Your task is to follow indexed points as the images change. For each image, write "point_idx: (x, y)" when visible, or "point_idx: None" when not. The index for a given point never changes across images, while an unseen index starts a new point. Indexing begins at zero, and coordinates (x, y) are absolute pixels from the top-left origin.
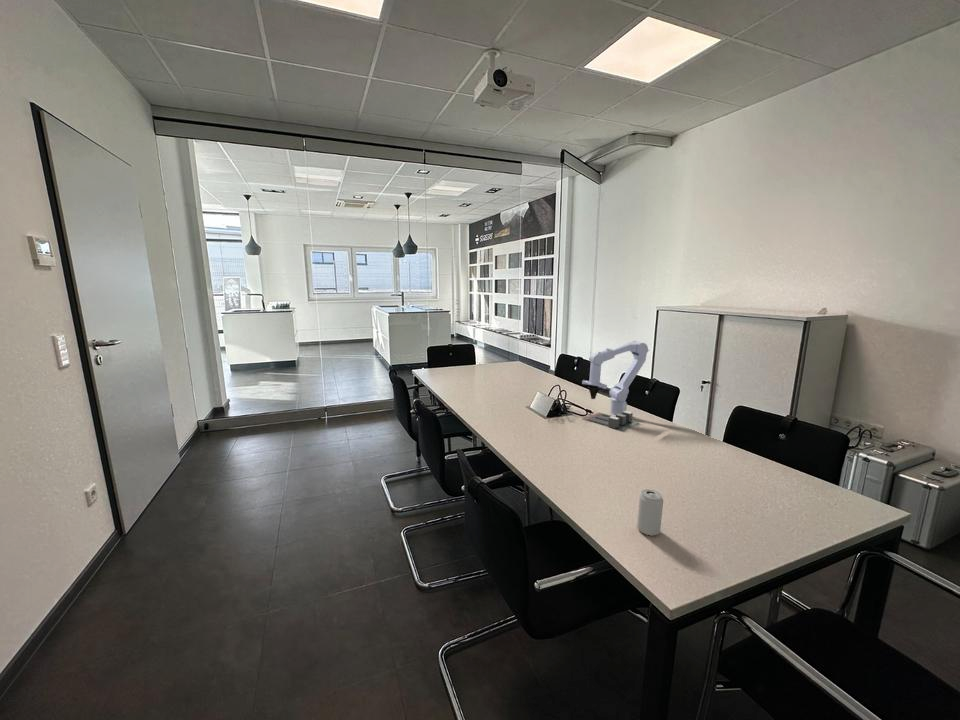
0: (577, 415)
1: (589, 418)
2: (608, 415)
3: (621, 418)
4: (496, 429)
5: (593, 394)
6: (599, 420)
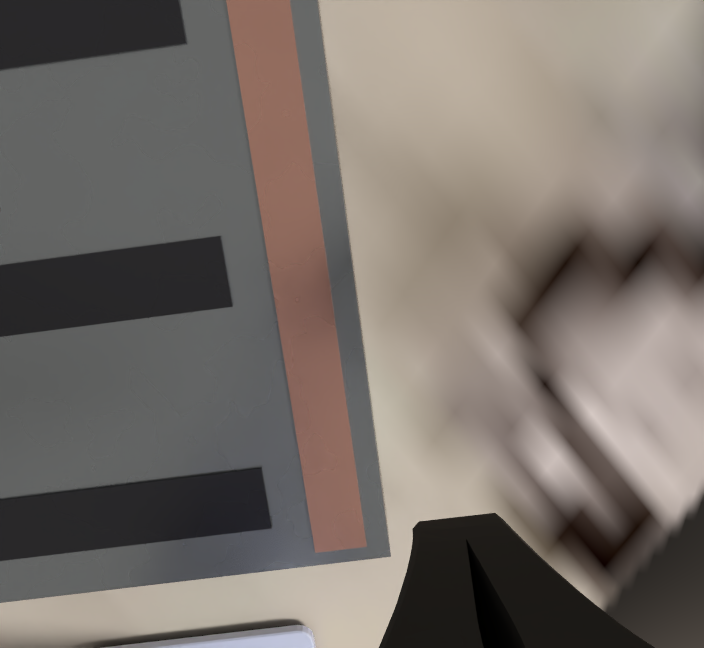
0: (609, 196)
1: (243, 105)
2: (183, 552)
3: None
4: None
5: (410, 620)
6: (57, 181)
